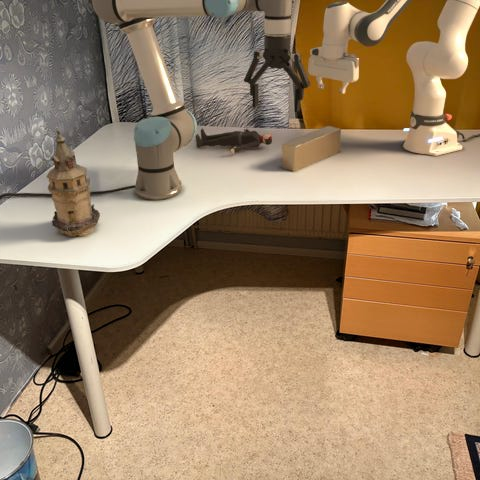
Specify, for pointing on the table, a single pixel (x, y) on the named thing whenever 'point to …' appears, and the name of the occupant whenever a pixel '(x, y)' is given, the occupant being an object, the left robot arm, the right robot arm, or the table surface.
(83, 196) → the miniature building
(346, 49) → the right robot arm
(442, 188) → the table surface
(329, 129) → the box
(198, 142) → the toy
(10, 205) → the table surface
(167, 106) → the left robot arm
